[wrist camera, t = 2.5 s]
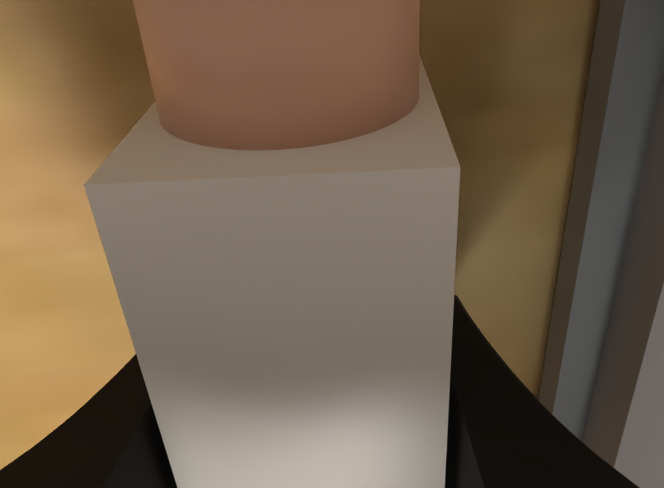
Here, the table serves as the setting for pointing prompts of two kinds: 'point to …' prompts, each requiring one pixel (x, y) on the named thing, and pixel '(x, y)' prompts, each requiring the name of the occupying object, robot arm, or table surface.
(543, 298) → the table surface
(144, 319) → the cream rectangular bar
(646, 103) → the cradle
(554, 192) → the table surface
